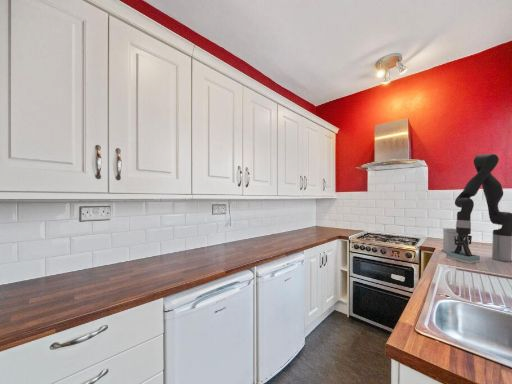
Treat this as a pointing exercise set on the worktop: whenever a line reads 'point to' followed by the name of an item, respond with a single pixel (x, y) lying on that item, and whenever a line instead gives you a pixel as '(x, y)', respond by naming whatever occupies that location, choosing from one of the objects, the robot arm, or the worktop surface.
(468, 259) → the socket base
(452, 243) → the utensil holder
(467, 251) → the black v-shaped piece
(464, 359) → the worktop surface
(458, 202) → the robot arm
